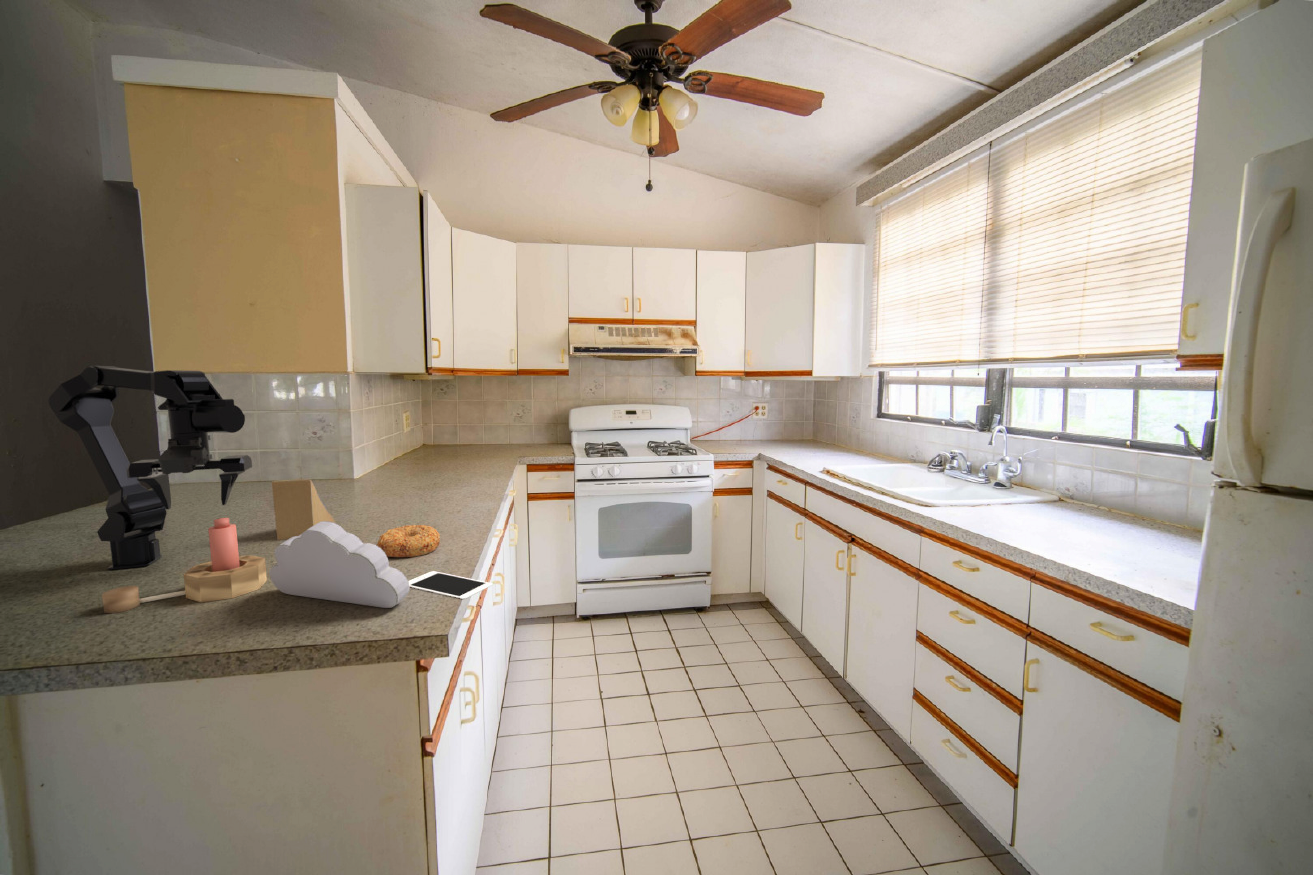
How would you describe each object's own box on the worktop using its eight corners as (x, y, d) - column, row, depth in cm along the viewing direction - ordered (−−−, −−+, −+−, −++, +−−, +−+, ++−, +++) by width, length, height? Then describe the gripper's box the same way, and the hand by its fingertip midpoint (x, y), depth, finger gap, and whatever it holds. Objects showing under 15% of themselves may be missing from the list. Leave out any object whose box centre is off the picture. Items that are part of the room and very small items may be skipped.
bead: (177, 605, 92) (175, 580, 92) (203, 582, 102) (201, 560, 102) (254, 595, 96) (252, 571, 96) (271, 574, 107) (269, 553, 106)
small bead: (98, 614, 88) (95, 597, 88) (112, 604, 92) (110, 588, 92) (132, 610, 90) (130, 593, 90) (145, 600, 94) (143, 584, 94)
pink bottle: (208, 593, 97) (201, 522, 96) (225, 584, 101) (219, 516, 100) (230, 593, 98) (224, 522, 96) (246, 584, 101) (240, 516, 100)
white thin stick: (117, 608, 91) (116, 603, 91) (118, 606, 92) (117, 602, 92) (208, 590, 98) (207, 586, 98) (208, 589, 99) (207, 585, 99)
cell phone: (432, 573, 108) (432, 570, 108) (493, 586, 102) (493, 583, 102) (400, 586, 101) (400, 583, 101) (464, 601, 95) (463, 598, 95)
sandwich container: (336, 521, 146) (333, 468, 144) (315, 538, 131) (311, 479, 129) (301, 523, 144) (297, 469, 142) (276, 540, 129) (271, 480, 127)
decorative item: (255, 601, 94) (248, 520, 92) (304, 581, 103) (298, 507, 102) (385, 621, 87) (379, 532, 85) (425, 597, 96) (421, 517, 94)
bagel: (400, 540, 129) (399, 521, 129) (451, 543, 127) (450, 523, 127) (364, 558, 117) (362, 536, 116) (420, 561, 115) (419, 539, 114)
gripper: (106, 438, 96) (116, 521, 98) (231, 434, 104) (238, 511, 105) (137, 432, 107) (146, 507, 108) (249, 429, 114) (256, 499, 116)
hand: (196, 506), depth 109 cm, fingers open, 9 cm apart
